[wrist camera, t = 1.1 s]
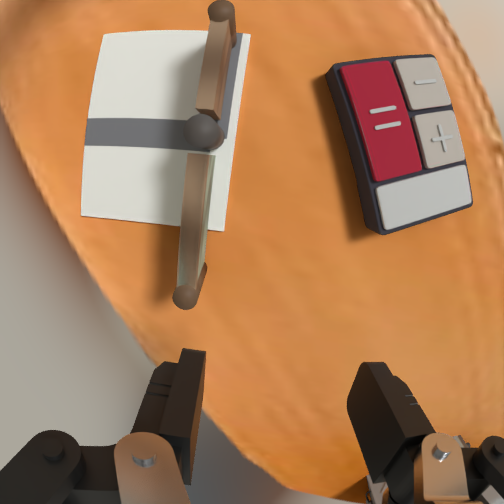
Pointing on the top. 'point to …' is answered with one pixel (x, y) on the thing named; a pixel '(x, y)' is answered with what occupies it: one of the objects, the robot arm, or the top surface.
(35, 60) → the top surface
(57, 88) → the top surface
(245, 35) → the card
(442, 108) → the calculator
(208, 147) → the fence fixed section
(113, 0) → the top surface
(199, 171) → the panel
